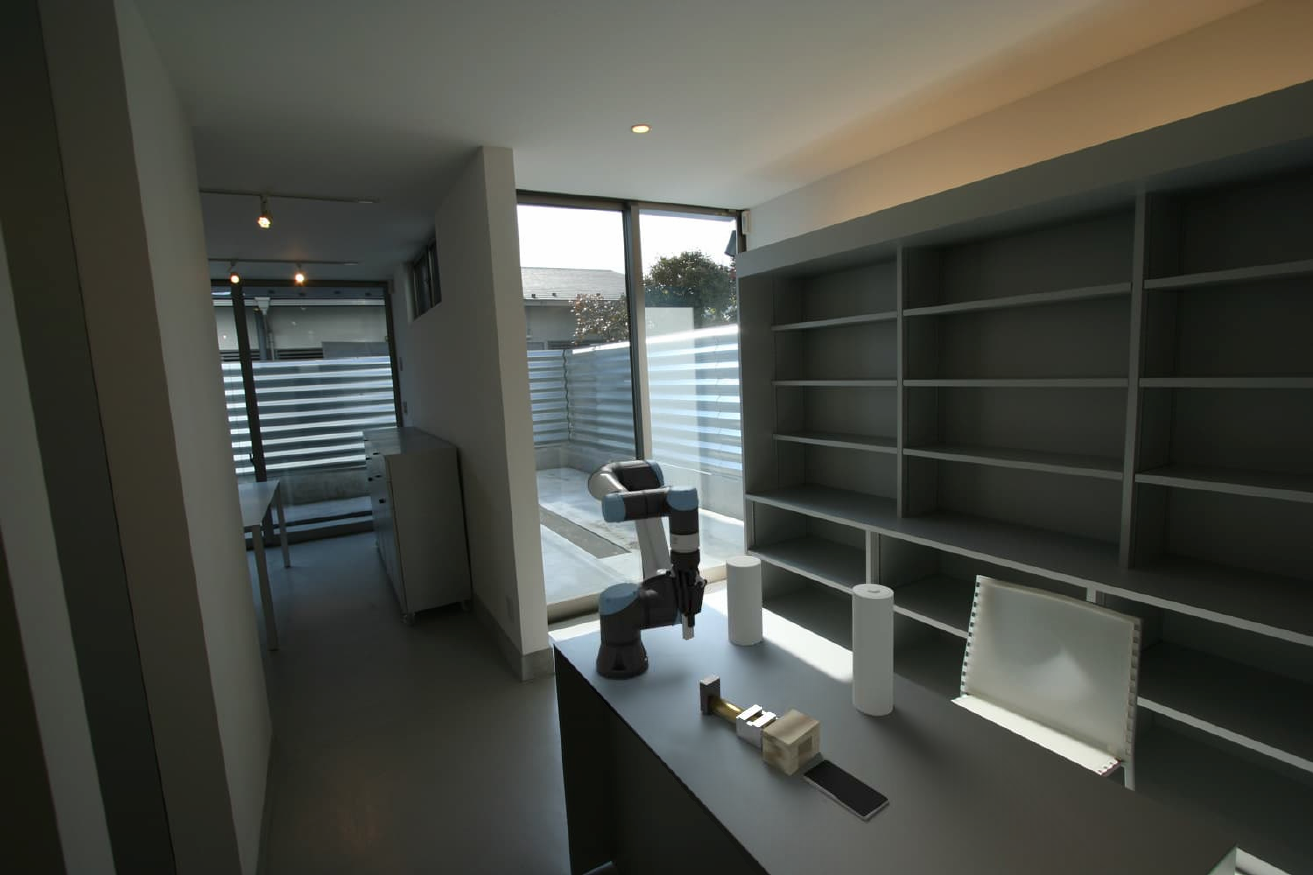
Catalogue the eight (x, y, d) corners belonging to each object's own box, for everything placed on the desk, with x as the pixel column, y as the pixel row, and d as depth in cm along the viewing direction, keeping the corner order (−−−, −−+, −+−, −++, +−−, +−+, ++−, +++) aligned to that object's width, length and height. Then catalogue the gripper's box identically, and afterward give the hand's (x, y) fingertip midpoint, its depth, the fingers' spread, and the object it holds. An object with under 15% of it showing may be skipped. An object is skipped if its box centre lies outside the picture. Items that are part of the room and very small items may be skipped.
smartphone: (864, 818, 111) (801, 774, 123) (864, 823, 111) (801, 780, 123) (889, 798, 116) (826, 758, 128) (889, 803, 116) (826, 763, 128)
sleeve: (736, 735, 138) (736, 715, 137) (754, 724, 142) (754, 703, 141) (760, 749, 132) (760, 728, 132) (778, 737, 137) (777, 715, 136)
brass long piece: (700, 710, 148) (699, 681, 147) (713, 702, 151) (712, 674, 150) (757, 743, 134) (756, 711, 133) (770, 734, 137) (770, 702, 136)
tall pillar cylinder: (754, 648, 179) (752, 568, 176) (722, 641, 185) (720, 563, 181) (768, 634, 188) (766, 558, 184) (737, 627, 193) (735, 553, 190)
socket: (763, 759, 129) (762, 729, 128) (793, 737, 136) (793, 708, 135) (789, 775, 124) (789, 744, 123) (819, 751, 131) (819, 721, 130)
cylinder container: (896, 717, 142) (897, 597, 138) (855, 714, 144) (854, 595, 140) (889, 695, 151) (889, 582, 148) (850, 692, 153) (850, 581, 150)
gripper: (656, 546, 151) (660, 634, 154) (692, 557, 141) (696, 651, 144) (677, 539, 156) (681, 625, 159) (714, 549, 146) (717, 640, 149)
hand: (688, 637), depth 151 cm, fingers closed
